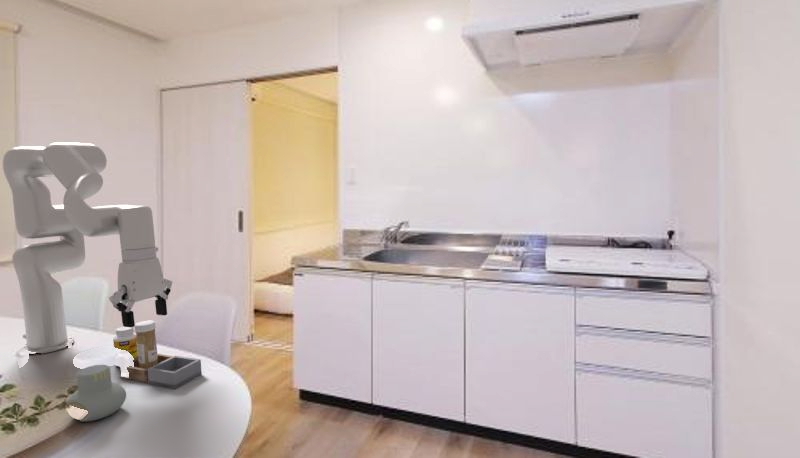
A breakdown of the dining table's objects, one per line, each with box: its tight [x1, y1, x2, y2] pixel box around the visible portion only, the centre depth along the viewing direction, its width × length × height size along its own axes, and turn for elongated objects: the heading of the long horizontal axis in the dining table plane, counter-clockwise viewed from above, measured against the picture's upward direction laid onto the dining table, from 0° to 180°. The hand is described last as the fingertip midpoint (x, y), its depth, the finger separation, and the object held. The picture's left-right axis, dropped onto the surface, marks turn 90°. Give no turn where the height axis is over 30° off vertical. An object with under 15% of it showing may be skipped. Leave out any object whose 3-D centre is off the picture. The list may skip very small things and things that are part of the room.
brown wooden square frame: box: [127, 353, 173, 383], centre depth 116 cm, size 9×9×3 cm
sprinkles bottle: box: [134, 319, 158, 369], centre depth 115 cm, size 5×5×14 cm
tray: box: [148, 355, 203, 390], centre depth 111 cm, size 8×8×4 cm
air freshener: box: [65, 364, 127, 423], centre depth 95 cm, size 11×8×10 cm
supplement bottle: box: [113, 326, 138, 360], centre depth 120 cm, size 6×6×10 cm
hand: (146, 320), depth 114 cm, fingers open, 9 cm apart
